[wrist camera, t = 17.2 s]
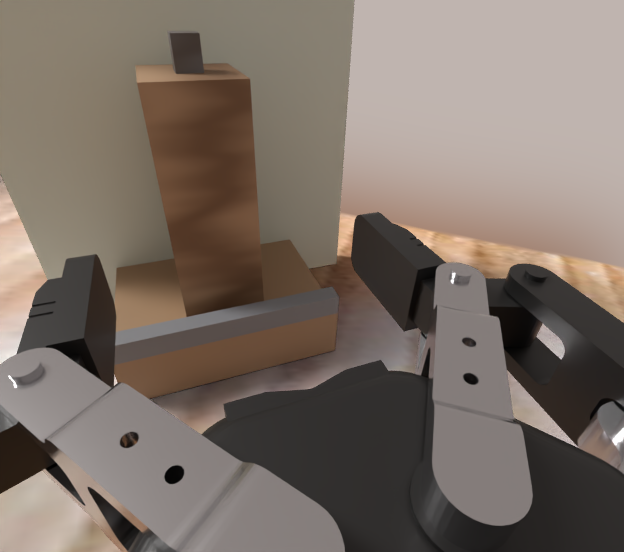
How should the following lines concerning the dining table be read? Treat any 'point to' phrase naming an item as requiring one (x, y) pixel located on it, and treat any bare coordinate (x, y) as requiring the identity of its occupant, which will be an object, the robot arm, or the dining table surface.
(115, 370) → the cleat board
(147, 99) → the knob board
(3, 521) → the dining table surface
